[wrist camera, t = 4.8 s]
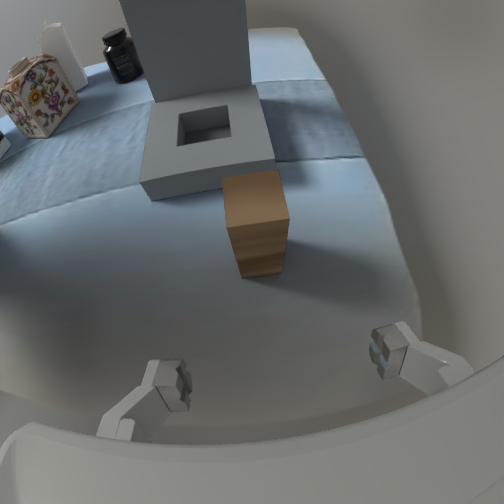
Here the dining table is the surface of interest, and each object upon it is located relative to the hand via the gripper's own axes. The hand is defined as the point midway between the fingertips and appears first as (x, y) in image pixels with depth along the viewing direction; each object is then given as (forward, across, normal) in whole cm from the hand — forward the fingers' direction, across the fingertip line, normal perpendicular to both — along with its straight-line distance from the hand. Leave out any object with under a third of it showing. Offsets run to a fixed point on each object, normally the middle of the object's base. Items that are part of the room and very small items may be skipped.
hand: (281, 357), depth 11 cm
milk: (+54, +37, -32) cm, 73 cm away
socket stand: (+30, +4, -9) cm, 32 cm away
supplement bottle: (+50, +21, -29) cm, 61 cm away
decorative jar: (+45, +40, -24) cm, 65 cm away
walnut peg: (+18, 0, +3) cm, 18 cm away
